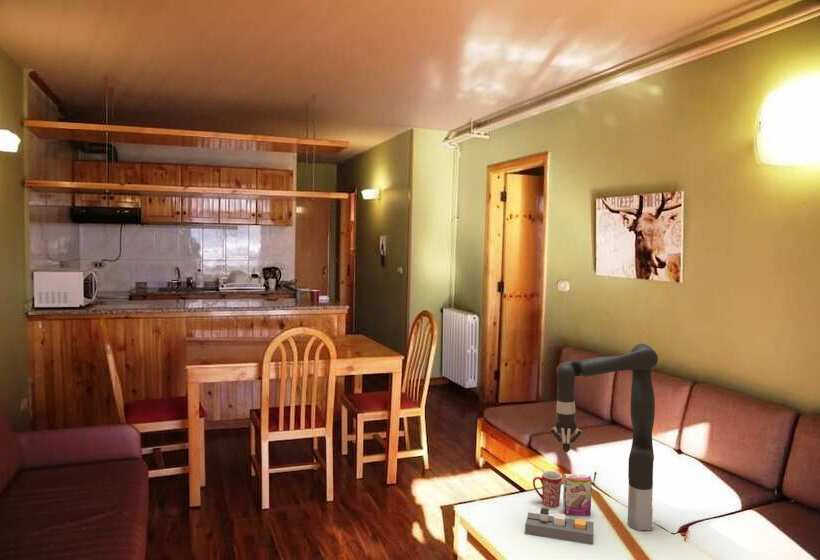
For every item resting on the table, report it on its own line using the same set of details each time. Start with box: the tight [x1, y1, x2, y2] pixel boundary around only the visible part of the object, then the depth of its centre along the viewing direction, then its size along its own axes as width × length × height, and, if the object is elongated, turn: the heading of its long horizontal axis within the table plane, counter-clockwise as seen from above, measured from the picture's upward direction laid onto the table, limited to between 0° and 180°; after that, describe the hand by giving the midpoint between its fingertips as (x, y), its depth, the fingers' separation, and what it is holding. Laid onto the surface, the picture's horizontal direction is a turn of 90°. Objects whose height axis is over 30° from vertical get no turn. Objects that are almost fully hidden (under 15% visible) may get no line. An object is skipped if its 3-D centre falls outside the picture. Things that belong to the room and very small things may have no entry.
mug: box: [532, 470, 563, 508], centre depth 256 cm, size 13×9×14 cm
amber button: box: [574, 518, 587, 530], centre depth 229 cm, size 4×4×3 cm
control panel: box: [524, 512, 594, 545], centre depth 232 cm, size 26×10×4 cm, turn 71°
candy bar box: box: [562, 473, 593, 517], centre depth 247 cm, size 11×5×16 cm, turn 84°
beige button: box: [553, 512, 566, 527], centre depth 231 cm, size 4×4×3 cm
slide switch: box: [539, 507, 550, 522], centre depth 233 cm, size 3×4×6 cm
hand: (566, 451), depth 240 cm, fingers closed
